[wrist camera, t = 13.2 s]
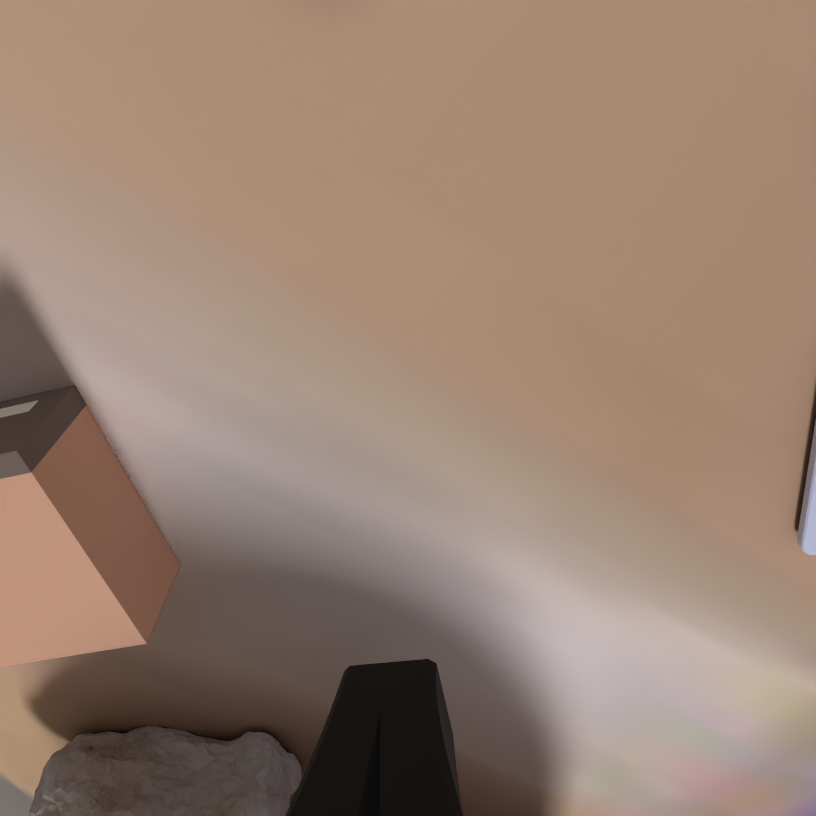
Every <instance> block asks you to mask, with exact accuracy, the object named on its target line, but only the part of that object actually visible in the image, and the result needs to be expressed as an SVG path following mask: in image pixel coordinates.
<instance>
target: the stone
mask: <svg viewBox="0 0 816 816" xmlns="http://www.w3.org/2000/svg"><path fill="white" fill-rule="evenodd" d="M301 780H302V772H301V766H300V764H299V761H298V760H297V758H296V757H295V755H294V754H293V753H289V752H286V751H285V750H284V749H283V748H282V747H281V746H280V743H279V742H278V741H277V740H276V739H275V738H273V737H272V736H270V735H268V734H267V733H263V732H249V731H248V732H247V733H245V734H243V735H242V736H241V737H240V738H237V739H235V740H232V741H222V740H217V739H212V738H206V737H201V736H196V735H193V734H191V733H189V732H186V731H184V730H177V729H165V728H161V727H157V726H144V727H140V728H134V729H133V730H131V731H129V732H128V733H116V732H109V731H107V732H102V733H97V734H92V733H86V734H80V735H77V736H75V738H74V739H73V740H72V741H71V742H70V743H68V744H66V746H65V747H64V748H62V749H61V750H59V751H56V752H55V753H54V754H53V755H52V756H51V757H50V759H49V760H48V762H47V764H46V765H45V767H44V769H43V772H42V776H41V779H40V782H39V785H38V787H37V789H36V790H35V796H34V800H33V803H32V805H31V808H30V811H29V814H30V816H285V815H286V813H287V811H288V809H289V807H290V797H291V795H292V794H293V793H294V792H295V791H296V790H297V789H298V787H299V785H300V782H301Z"/></svg>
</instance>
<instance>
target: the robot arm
mask: <svg viewBox="0 0 816 816" xmlns="http://www.w3.org/2000/svg"><path fill="white" fill-rule="evenodd" d="M797 543H798V544H799V546H800V547H801V549H802V550H803V551H804V553H807V554H809V555H816V421H815V428H814V434H813V440H812V447H811V453H810V459H809V466H808V472H807V478H806V485H805V491H804V497H803V504H802V510H801V516H800V523H799V529H798V535H797ZM285 816H463V810H462V805H461V799H460V793H459V786H458V779H457V771H456V763H455V753H454V742H453V733H452V729H451V725H450V720H449V716H448V712H447V707H446V703H445V699H444V694H443V690H442V686H441V681H440V677H439V673H438V668H437V664H436V663H434V662H433V661H431V660H429V659H423V660H411V661H400V662H389V663H377V664H366V665H355V666H349V667H348V668H347V669H346V670H345V671H344V674H343V677H342V680H341V683H340V686H339V688H338V691H337V694H336V697H335V700H334V702H333V705H332V708H331V710H330V713H329V716H328V718H327V721H326V723H325V726H324V729H323V731H322V733H321V736H320V738H319V741H318V743H317V746H316V748H315V750H314V753H313V755H312V758H311V760H310V762H309V765H308V767H307V769H306V771H305V773H304V776H303V778H302V780H301V782H300V785H299V787H298V789H297V791H296V793H295V796H294V798H293V800H292V802H291V805H290V807H289V809H288V811H287V813H286V815H285Z"/></svg>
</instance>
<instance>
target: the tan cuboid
mask: <svg viewBox="0 0 816 816" xmlns="http://www.w3.org/2000/svg"><path fill="white" fill-rule="evenodd" d="M179 568H180V564H179V562H178V560H177V559H176V557H175V555H174V554H173V552H172V550H171V548H170V547H169V545H168V543H167V542H166V540H165V538H164V537H163V535H162V533H161V531H160V530H159V528H158V526H157V525H156V523H155V521H154V519H153V518H152V516H151V514H150V513H149V511H148V509H147V508H146V506H145V504H144V502H143V501H142V499H141V497H140V496H139V494H138V492H137V490H136V489H135V487H134V485H133V484H132V482H131V480H130V478H129V477H128V475H127V473H126V472H125V470H124V468H123V467H122V465H121V463H120V461H119V460H118V458H117V456H116V455H115V453H114V451H113V449H112V448H111V446H110V444H109V443H108V441H107V439H106V438H105V436H104V434H103V432H102V431H101V429H100V427H99V426H98V424H97V422H96V420H95V419H94V417H93V415H92V414H91V412H90V410H89V408H88V407H87V405H86V403H85V402H84V400H83V398H82V397H81V395H80V393H79V391H78V390H77V388H76V386H75V385H73V386H69V387H64V388H60V389H56V390H51V391H47V392H42V393H38V394H34V395H29V396H25V397H20V398H16V399H12V400H7V401H3V402H0V667H4V666H10V665H17V664H23V663H29V662H35V661H42V660H48V659H54V658H60V657H67V656H73V655H79V654H86V653H92V652H98V651H104V650H111V649H117V648H123V647H130V646H136V645H142V644H147V642H148V640H149V637H150V635H151V633H152V631H153V628H154V626H155V624H156V621H157V619H158V617H159V614H160V612H161V610H162V607H163V605H164V603H165V600H166V598H167V596H168V593H169V591H170V589H171V587H172V584H173V582H174V580H175V577H176V575H177V573H178V570H179Z"/></svg>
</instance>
